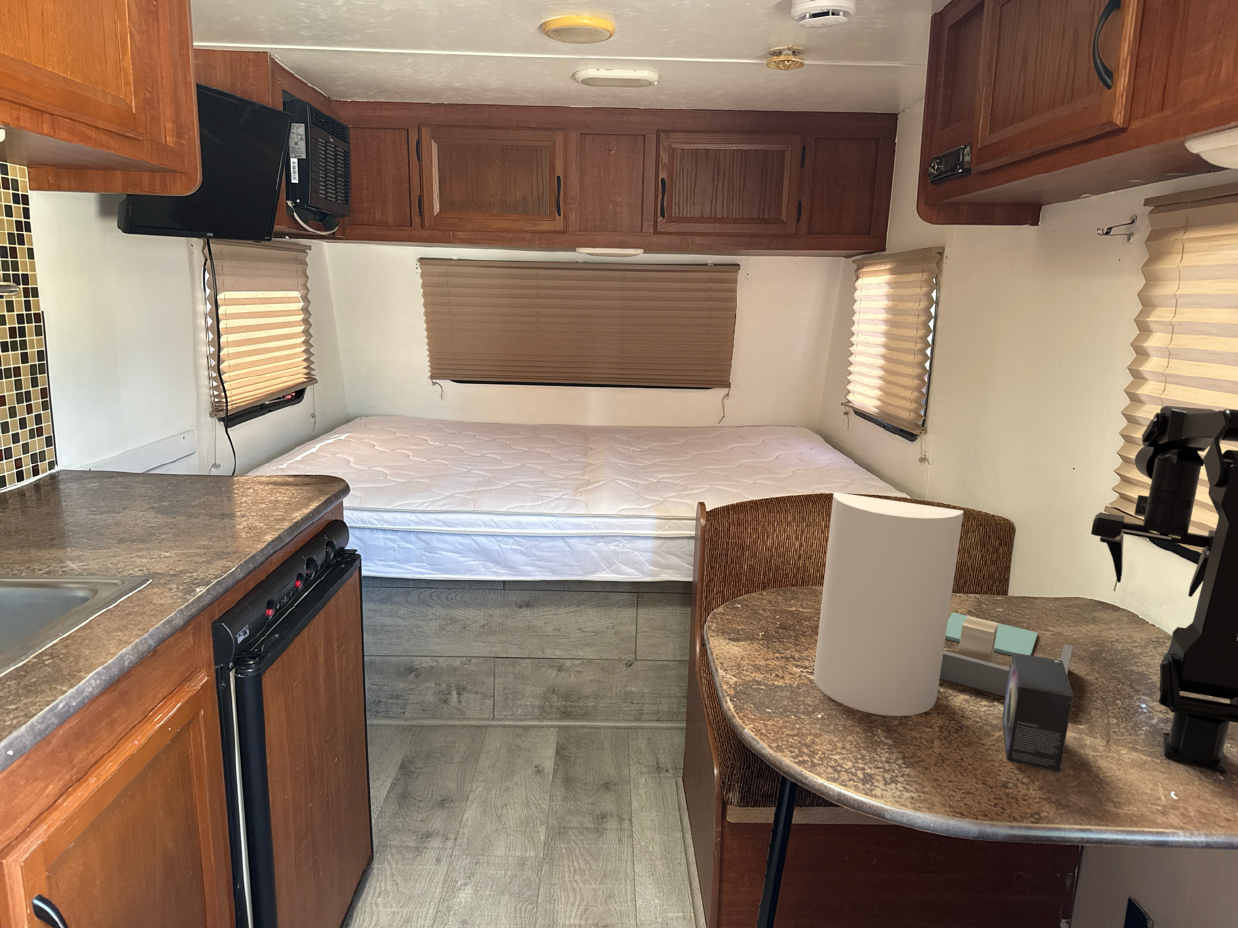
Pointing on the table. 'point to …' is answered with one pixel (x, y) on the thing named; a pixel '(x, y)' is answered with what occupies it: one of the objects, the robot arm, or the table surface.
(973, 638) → the cream block
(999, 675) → the grey l-shaped bracket
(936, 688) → the cylinder
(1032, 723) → the small box
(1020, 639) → the teal mat
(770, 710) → the table surface
